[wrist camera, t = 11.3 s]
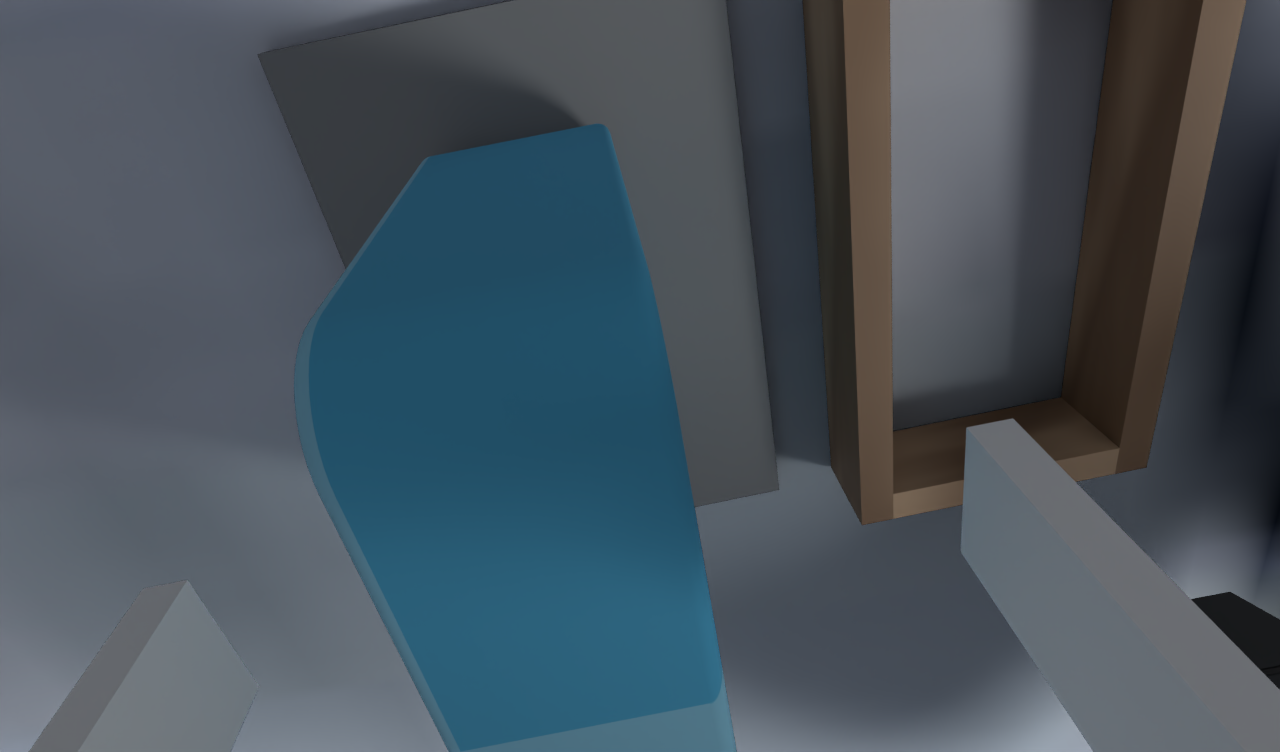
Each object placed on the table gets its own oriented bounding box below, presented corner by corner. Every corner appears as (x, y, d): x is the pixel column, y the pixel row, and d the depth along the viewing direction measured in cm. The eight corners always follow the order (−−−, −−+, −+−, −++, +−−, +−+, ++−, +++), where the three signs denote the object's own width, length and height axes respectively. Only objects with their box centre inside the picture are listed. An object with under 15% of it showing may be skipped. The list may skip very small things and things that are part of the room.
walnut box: (1171, -139, 17) (1279, -157, 15) (1086, 415, 25) (1146, 467, 23) (798, -61, 17) (840, -65, 15) (831, 467, 25) (861, 525, 23)
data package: (673, 482, 24) (757, 871, 14) (541, 507, 24) (525, 916, 14) (604, 109, 18) (660, 302, 8) (427, 144, 18) (250, 383, 8)
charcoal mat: (716, -44, 17) (721, -44, 17) (774, 479, 25) (779, 489, 25) (266, 51, 17) (257, 54, 17) (465, 541, 25) (463, 554, 25)
